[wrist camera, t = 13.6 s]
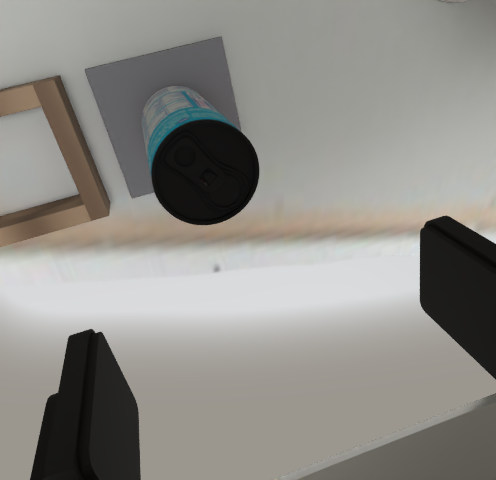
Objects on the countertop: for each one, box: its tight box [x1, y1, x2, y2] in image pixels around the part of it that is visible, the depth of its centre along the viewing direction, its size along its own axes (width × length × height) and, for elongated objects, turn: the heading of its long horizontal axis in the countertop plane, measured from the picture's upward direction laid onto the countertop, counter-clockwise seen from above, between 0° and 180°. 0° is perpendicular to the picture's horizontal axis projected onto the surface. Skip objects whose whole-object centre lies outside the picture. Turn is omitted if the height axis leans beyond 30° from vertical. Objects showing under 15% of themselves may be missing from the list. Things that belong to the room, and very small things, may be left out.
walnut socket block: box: [0, 76, 110, 247], centre depth 33 cm, size 11×11×3 cm
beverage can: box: [141, 86, 259, 225], centre depth 29 cm, size 6×6×15 cm
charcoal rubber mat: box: [85, 37, 241, 198], centre depth 36 cm, size 11×11×1 cm
